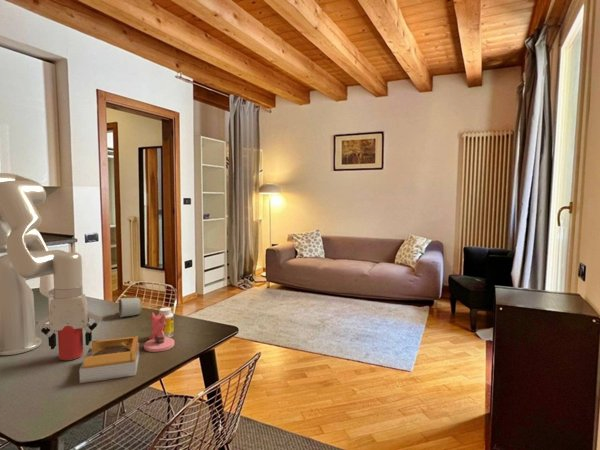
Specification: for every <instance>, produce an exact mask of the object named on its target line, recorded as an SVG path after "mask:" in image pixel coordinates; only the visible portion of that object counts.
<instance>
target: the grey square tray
mask: <svg viewBox="0 0 600 450" xmlns="http://www.w3.org/2000/svg"><path fill="white" fill-rule="evenodd" d="M139 358H140V342H139V335H136V336H126V337H117V338H110V339H109V338H108V339H100V340H99V339H98V340H92V341H91V347H90V348H89V349H88V351H87V352H86V355H85V356H84V357H83V360H82V363H81V365H80V367H79V369H78V370H79V372H78V373H79V384H87V383H92V382H93V383H94V382H98V381H99V382H100V381H107V380H113V379H120V378H127V377H133V376H137V372H138V365H139Z"/></svg>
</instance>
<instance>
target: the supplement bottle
mask: <svg viewBox="0 0 600 450" xmlns="http://www.w3.org/2000/svg"><path fill="white" fill-rule="evenodd" d="M163 313H164V315H165V317H166V318H165V322H166V323H165V329H164V331H163V328H162V331H163V332H164V336H166V337H168V338H172V337H173V336H174V332H175V331H174V330H175V328H174V313H173V312H172V308H171V307H161V308H160V309H159V313H158V314H157V315H156V316H159V314H162V315H163ZM162 315H161V316H162Z"/></svg>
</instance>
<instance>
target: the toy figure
mask: <svg viewBox="0 0 600 450" xmlns="http://www.w3.org/2000/svg"><path fill="white" fill-rule="evenodd" d="M158 314H159V313H158ZM161 315H162V314H159V316H157V315H156V314H155V313H154V311H153V310H152V311H151V314H150V321H151V326H152V327H151V333H152V335H149V336H148V338H149V340H147V341H146V342H144V344H143V349H144V350H145V351H146V352H150V353H151V352H152V353H157V352H158V353H159V352H164V351H168V350H171V349H172V348H173V347H174V346H175V340H174V339H173V338H172V337H170V338H168V337H166V336H164V332H163V331H164V329H165V323H166V322H165V318H166V317H165V315H164V313H163V315H162V316H161ZM162 328H163V331H162Z"/></svg>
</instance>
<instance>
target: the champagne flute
mask: <svg viewBox="0 0 600 450" xmlns="http://www.w3.org/2000/svg"><path fill="white" fill-rule="evenodd" d="M52 289H54V277H53V274H51V275H46V276H42V277H39V292H40V294H41V295H43V296H44V297H46V298H48V312H49V311H50V303H51V299H52V298H53V297H54V295H52V294H49V290H52ZM45 325H49V322H47V323H46V324H45Z"/></svg>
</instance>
